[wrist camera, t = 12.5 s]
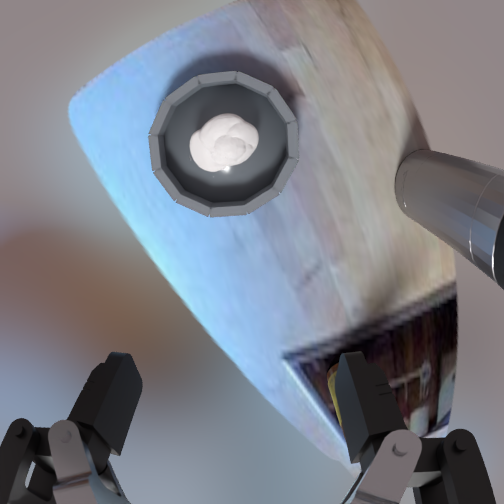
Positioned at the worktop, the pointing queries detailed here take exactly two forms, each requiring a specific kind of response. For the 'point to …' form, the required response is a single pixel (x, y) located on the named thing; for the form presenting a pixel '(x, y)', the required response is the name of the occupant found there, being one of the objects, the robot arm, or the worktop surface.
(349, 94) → the worktop surface
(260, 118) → the round dish
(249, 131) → the dumpling
